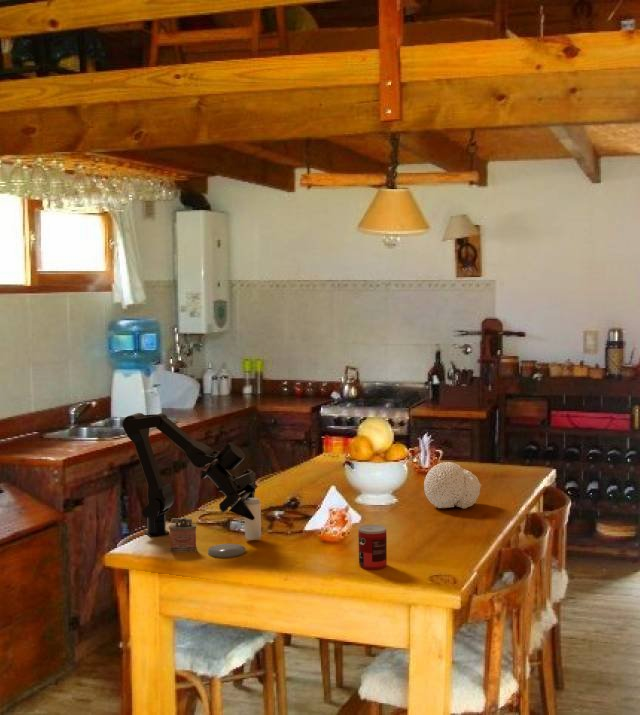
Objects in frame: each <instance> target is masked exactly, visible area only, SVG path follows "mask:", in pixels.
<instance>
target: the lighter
mask: <svg viewBox="0 0 640 715" xmlns="http://www.w3.org/2000/svg"><path fill="white" fill-rule="evenodd" d="M170 521H171V525H169V528H168V529H169V532H170V534H169V539H170V542H169V543H170V544H169V545H170V546H169V551H170V552H171V551H172V552H173V553H188V552H187V551H190V552H196V551H198V549H197V547H198V546H197V533H196V531H197V530H196V529H197V525H196V524H192V523H193V519H192V518H187V517H185V516H184V517H181V518H180V517H178V518H177V517H174V518H171V520H170ZM172 524H173V525H172ZM195 550H196V551H195Z"/></svg>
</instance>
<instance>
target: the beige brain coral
mask: <svg viewBox="0 0 640 715" xmlns="http://www.w3.org/2000/svg"><path fill="white" fill-rule="evenodd" d="M472 472H473V471H471V470H470V471H469V470H468V469H465V468H463V467H461V465H459V464H457V463H454V462H450V461H448V462H447V461H444V462H440V463H437V464H436V465H434V466H432V467H431V468H430V470H428V471H427V474H426V476H425V477H424V481H423V482H424V483H423V486H424V487H423V489H424V490H423V491H424V494H425V496H426V500H427V499H428V502H430V503H431V504H432V505H433V506H435V508H438V509H447V508H454V507H457V508H461V509H467V508H470V507H472V506H474V504H476V501H477V500H478V498H479V497H480V493H481V487H482V484H481V482H480V481H479V479H478V477H477V476H476V475H475V474H473V473H472Z"/></svg>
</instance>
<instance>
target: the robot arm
mask: <svg viewBox="0 0 640 715" xmlns="http://www.w3.org/2000/svg"><path fill="white" fill-rule="evenodd" d="M121 425H122V428H123V430H124V432H125V434H126V436H127V437H128V439H129V440H130V441H131V442H132V443H133V445H134V447H135V450H136V453H137V457H138V460H139V462H140V465H141V468H142V472H143V475H144V478H145V481H146V484H147V495H146V497H147V503H148V504H147V505H146V506H144V508H143V509H142V510H141V514H142V517H143V518H147V519H146V523H147V524H146V525H147V529H146V530H143V533H144V534H145V535H147V536H148V537H151V538H153V537H157V536H158V537H159V536H164V535H170V530H167V528H166V526H167V525H166V513H168V512H169V511H170V508H171V507H172V506H173V504H174V501H175V496H176V495H175V494H174V492H173V488H172V484H170V483H169V484H166V483H165V482H164V480H163V479H162V475H161V473H160V469H159V466H158V463H157V461H156V457H155V454H154V451H153V448H152V446H151V445H152V444H151V442H150V429H152V428H156V429H157V430H159V432H161V433H162V434H163V435H164V436H166V437H167V438H168V439H169V440H171V441H172V442H173V443H174V444H175V445H176V446H177V447H178V448H179V449H181V450H182V451H183V452H184V453H185V456H186V458H187V459H188V460H189V461H190V463H191V464H192V465H193V466H194V467H195V468H198V469H199V468H203V469H201V470H200V472H201V474H200V479H201V480H203V479H206V478H207V477H208V478H209V479H210V481H211V482H212V483H213V484H214V485H215V486H216V487H217V489H216V491H217V492H218V493H220V492H221V493H222V494H223V495H224V496H225V498H224V499H223V500H221V502H220V503H219V504H218V505H219V506H218V507H219V510H220V511H221V513H223V514H224V513H225V512H227V511H228V512H229V513H233V514H236V515H239V516H241V517H244V518H245V517H246V518H248V519H250V520H254V519H255V517H254V516H253V514H252V513H251V511H250V510H249V509H248V507H247V506H246V504H245V499H247V498H255V493H256V489H258V488H259V486H258V485H257V484H256V483H255V482H257V478H256V475H257V474H256V472H254V470H252V469H251V468H249V469H246V470H244V471H243V475H240V476H237V475H236V474H233V475H232V474H231V473H230V472H229V471H233V470H234V469H236V468H237V467H238V466H239V464H241V463H242V462H243V460H244V459H245V458H246V454H245V452H244V451H243V449H242V448H240V447H239V446H237V445H236V444H235V445H234V444H233V443H232V442H229V443H227V444H226V445H225V446H224V448H223V449H222V450H221V451H218V450H213V449H212V448H211V446H209V445H207V444H205V443H203V442H201V441H198V440H195V439H194V438H192V437H191V436H190V435H189V434H188V433H186V432H185V431H184V430H183V429H182V428H180V427H179V426H178V425H177V424H175V422H173V421H172V420H171V419H170V418H168V416H167V415H166V414H165V413H162V412H161V413H156V414H155V413H154V414H153V413H151V414H144V413H142V412H136V413H133V414H130V415H128V416H126V417H125V418H124V419H123V421H122V424H121ZM214 462H215V463H214ZM206 466H207V468H204V467H206ZM229 508H230V509H229ZM228 509H229V510H228Z"/></svg>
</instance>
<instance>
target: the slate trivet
mask: <svg viewBox="0 0 640 715" xmlns="http://www.w3.org/2000/svg"><path fill="white" fill-rule="evenodd" d="M207 552H208V553H207V554H208V555H209V556H210V557H214V558H221V559H226V558H236V557H240V556H242V555H244V554H245V553H246V547H245V546H244V545H242V544H237V543H220V544H214V545H212V546H210V547H208V550H207Z"/></svg>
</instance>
